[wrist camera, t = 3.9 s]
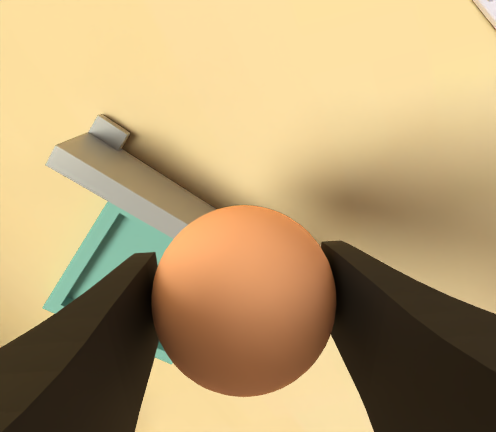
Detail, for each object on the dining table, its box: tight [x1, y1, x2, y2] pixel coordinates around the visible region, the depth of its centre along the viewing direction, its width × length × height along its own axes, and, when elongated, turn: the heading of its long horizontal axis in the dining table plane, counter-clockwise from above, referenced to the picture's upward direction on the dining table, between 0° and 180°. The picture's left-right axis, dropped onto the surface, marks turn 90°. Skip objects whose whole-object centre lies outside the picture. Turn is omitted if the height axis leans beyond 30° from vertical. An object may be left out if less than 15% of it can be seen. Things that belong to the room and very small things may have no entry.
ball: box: [151, 205, 336, 397], centre depth 9 cm, size 5×5×5 cm
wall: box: [46, 114, 217, 239], centre depth 17 cm, size 14×3×4 cm, turn 53°
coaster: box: [43, 202, 173, 364], centre depth 20 cm, size 9×9×1 cm
